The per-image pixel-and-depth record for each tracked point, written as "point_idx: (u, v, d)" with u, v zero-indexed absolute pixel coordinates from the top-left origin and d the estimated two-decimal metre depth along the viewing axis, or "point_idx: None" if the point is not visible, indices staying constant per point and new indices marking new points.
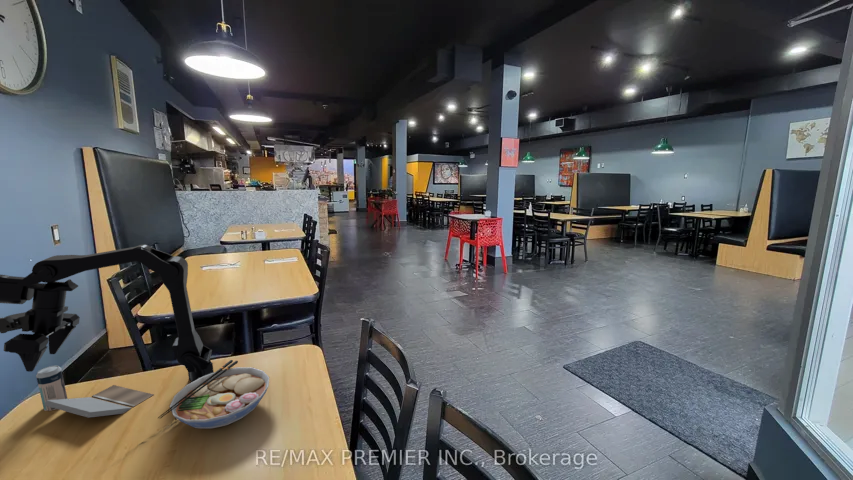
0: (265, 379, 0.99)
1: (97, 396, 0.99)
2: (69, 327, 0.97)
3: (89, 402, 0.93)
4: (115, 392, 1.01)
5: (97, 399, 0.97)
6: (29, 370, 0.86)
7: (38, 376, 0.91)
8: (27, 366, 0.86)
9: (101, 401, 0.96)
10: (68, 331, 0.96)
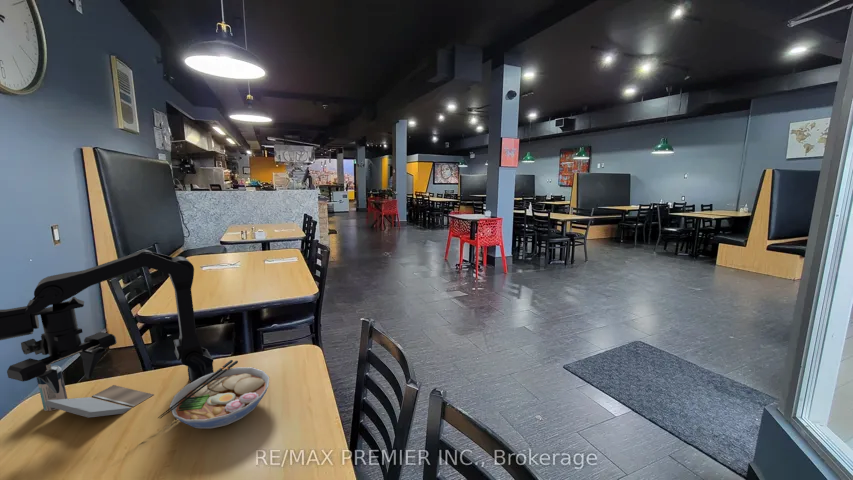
0: (265, 379, 0.99)
1: (97, 396, 0.99)
2: (97, 351, 0.91)
3: (89, 402, 0.93)
4: (115, 392, 1.01)
5: (97, 399, 0.97)
6: (55, 392, 0.85)
7: None
8: (52, 388, 0.84)
9: (101, 401, 0.96)
10: (92, 356, 0.90)
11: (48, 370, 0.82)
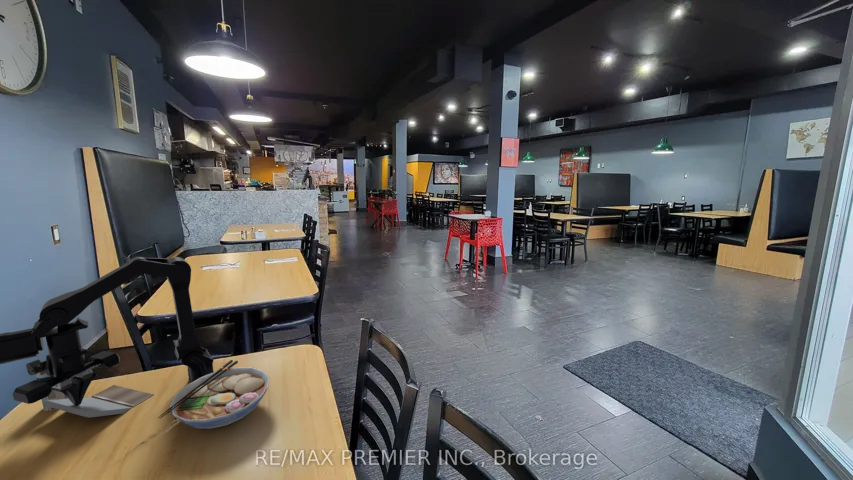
0: (265, 379, 0.99)
1: (97, 396, 0.99)
2: (88, 376, 0.89)
3: (89, 402, 0.93)
4: (115, 392, 1.01)
5: (97, 399, 0.97)
6: (75, 404, 0.89)
7: (38, 376, 0.91)
8: (71, 401, 0.88)
9: (101, 401, 0.96)
10: (83, 382, 0.88)
11: (69, 384, 0.86)
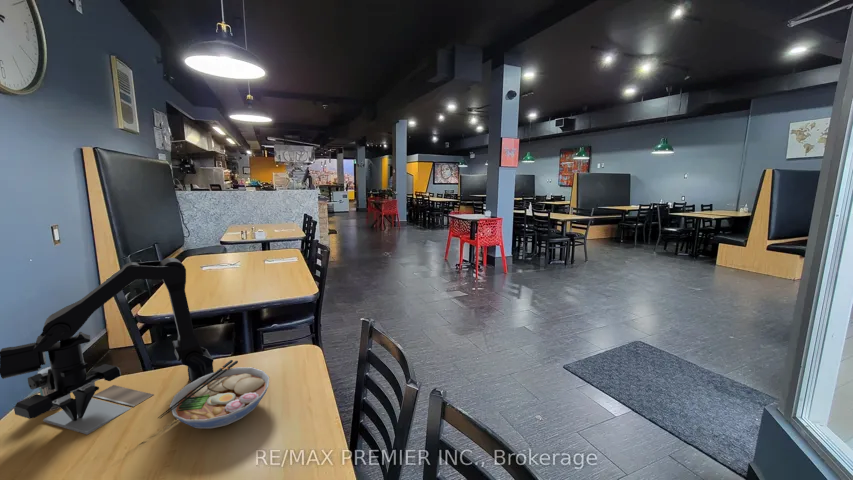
0: (265, 379, 0.99)
1: (97, 396, 0.99)
2: (91, 389, 0.90)
3: (88, 409, 0.93)
4: (115, 392, 1.01)
5: (97, 400, 0.97)
6: (73, 420, 0.88)
7: None
8: (70, 416, 0.88)
9: (101, 403, 0.96)
10: (85, 395, 0.89)
11: (67, 399, 0.86)
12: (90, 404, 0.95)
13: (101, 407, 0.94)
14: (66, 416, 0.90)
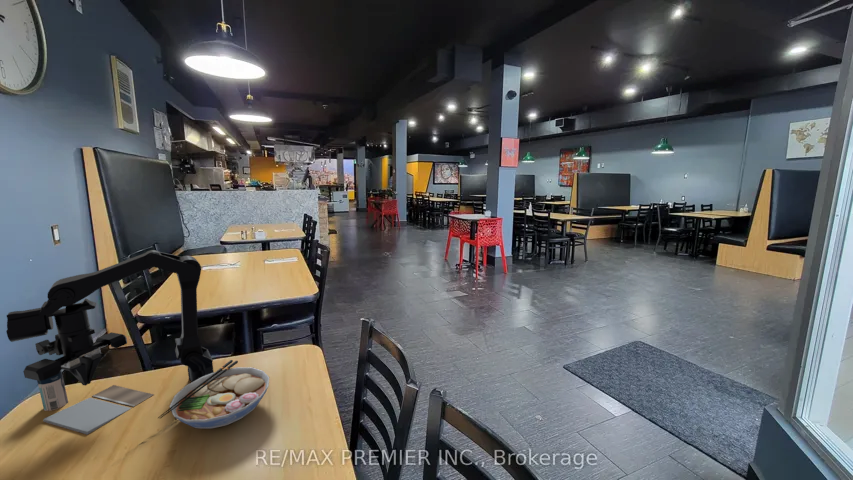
0: (265, 379, 0.99)
1: (97, 396, 0.99)
2: (97, 356, 0.91)
3: (88, 409, 0.93)
4: (115, 392, 1.01)
5: (97, 400, 0.97)
6: (83, 384, 0.90)
7: None
8: (80, 381, 0.90)
9: (101, 403, 0.96)
10: (92, 361, 0.90)
11: (77, 363, 0.87)
12: (90, 404, 0.95)
13: (101, 407, 0.94)
14: (66, 416, 0.90)
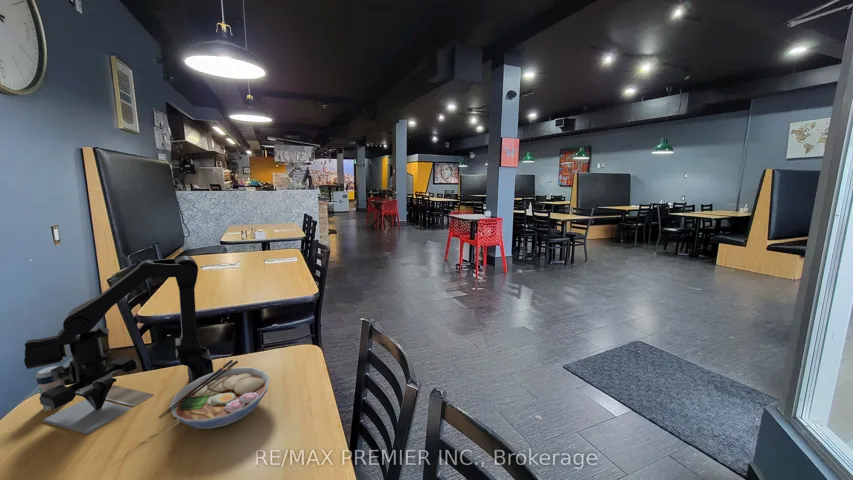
0: (265, 379, 0.99)
1: None
2: (109, 381, 0.94)
3: (88, 409, 0.93)
4: (115, 392, 1.01)
5: None
6: (95, 408, 0.93)
7: (38, 376, 0.91)
8: (92, 405, 0.93)
9: None
10: (104, 386, 0.93)
11: (90, 389, 0.90)
12: (90, 404, 0.95)
13: None
14: (66, 416, 0.90)
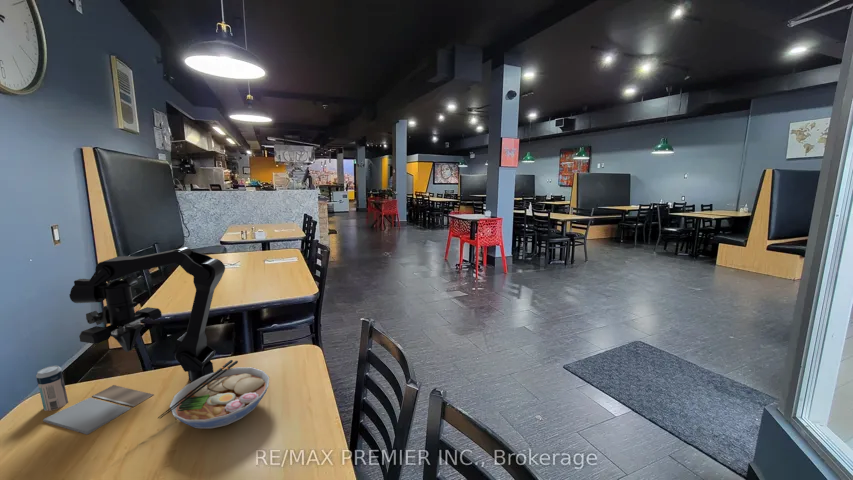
0: (265, 379, 0.99)
1: (97, 396, 0.99)
2: (138, 326, 1.04)
3: (88, 409, 0.93)
4: (115, 392, 1.01)
5: (97, 400, 0.97)
6: (126, 350, 1.03)
7: (38, 376, 0.91)
8: (123, 347, 1.02)
9: (101, 403, 0.96)
10: (134, 330, 1.02)
11: (123, 331, 1.00)
12: (90, 404, 0.95)
13: (101, 407, 0.94)
14: (66, 416, 0.90)
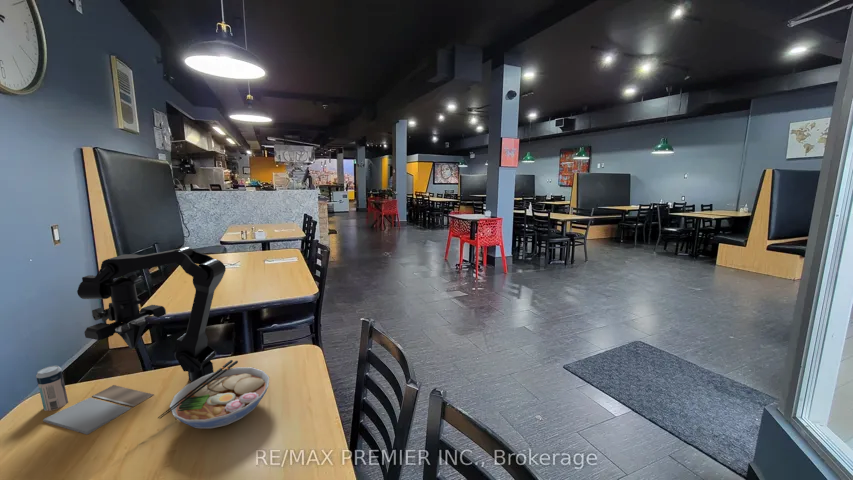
0: (265, 379, 0.99)
1: (97, 396, 0.99)
2: (142, 323, 1.05)
3: (88, 409, 0.93)
4: (115, 392, 1.01)
5: (97, 400, 0.97)
6: (130, 347, 1.04)
7: (38, 376, 0.91)
8: (128, 344, 1.04)
9: (101, 403, 0.96)
10: (138, 327, 1.04)
11: (127, 328, 1.01)
12: (90, 404, 0.95)
13: (101, 407, 0.94)
14: (66, 416, 0.90)
